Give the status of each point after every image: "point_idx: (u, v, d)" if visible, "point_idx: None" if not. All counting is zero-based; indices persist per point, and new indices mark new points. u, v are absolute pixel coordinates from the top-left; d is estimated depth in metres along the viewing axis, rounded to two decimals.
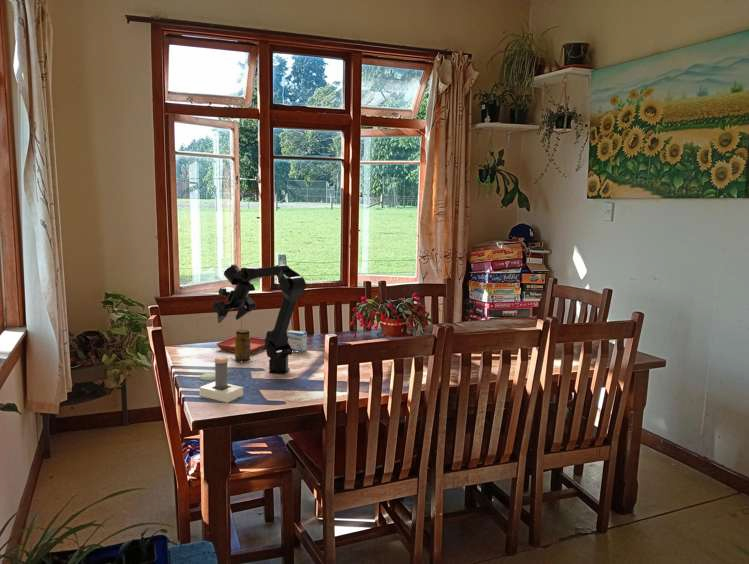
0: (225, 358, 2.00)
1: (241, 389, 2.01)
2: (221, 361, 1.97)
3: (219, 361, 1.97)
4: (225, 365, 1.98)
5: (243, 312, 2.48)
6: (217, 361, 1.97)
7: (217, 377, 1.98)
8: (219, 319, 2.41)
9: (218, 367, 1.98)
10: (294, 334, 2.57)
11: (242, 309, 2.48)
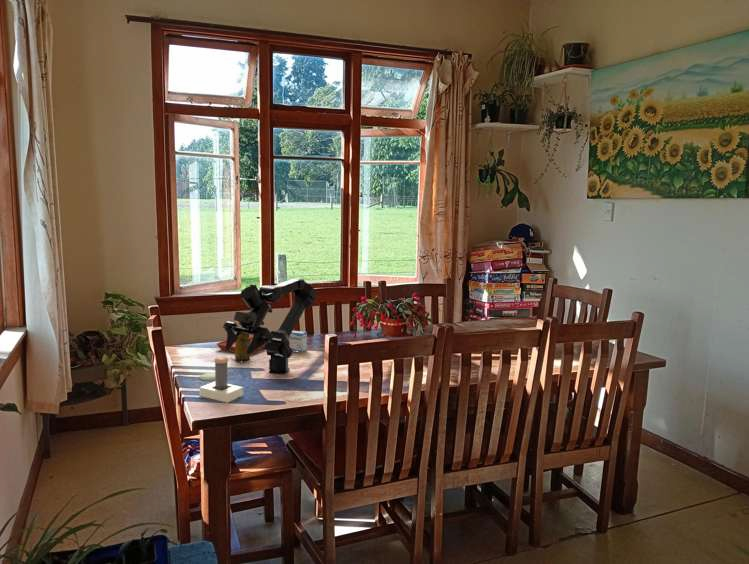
0: (225, 358, 2.00)
1: (241, 389, 2.01)
2: (221, 361, 1.97)
3: (219, 361, 1.97)
4: (225, 365, 1.98)
5: (234, 339, 2.12)
6: (217, 361, 1.97)
7: (217, 377, 1.98)
8: (252, 349, 2.05)
9: (218, 367, 1.98)
10: (294, 334, 2.57)
11: (233, 336, 2.12)
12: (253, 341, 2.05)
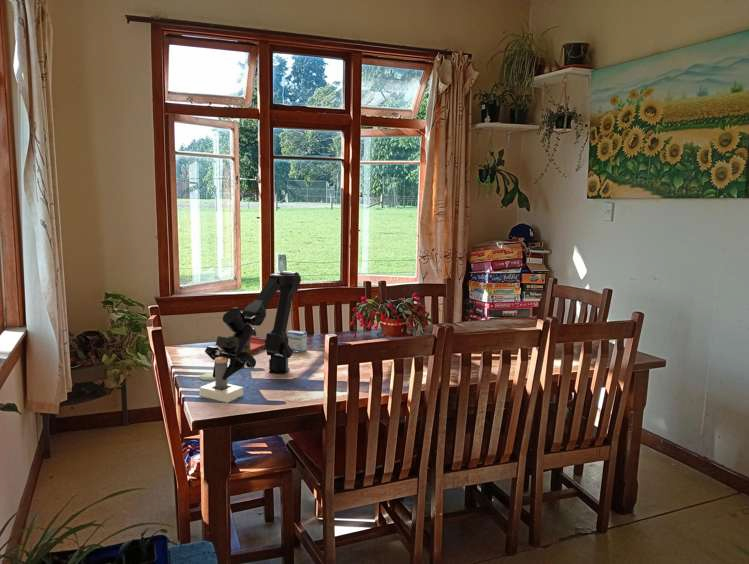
0: (225, 358, 2.00)
1: (241, 389, 2.01)
2: (221, 361, 1.97)
3: (219, 361, 1.97)
4: (225, 365, 1.98)
5: None
6: (217, 361, 1.97)
7: (217, 377, 1.98)
8: (229, 374, 1.99)
9: (218, 367, 1.98)
10: (294, 334, 2.57)
11: None
12: (230, 366, 1.99)
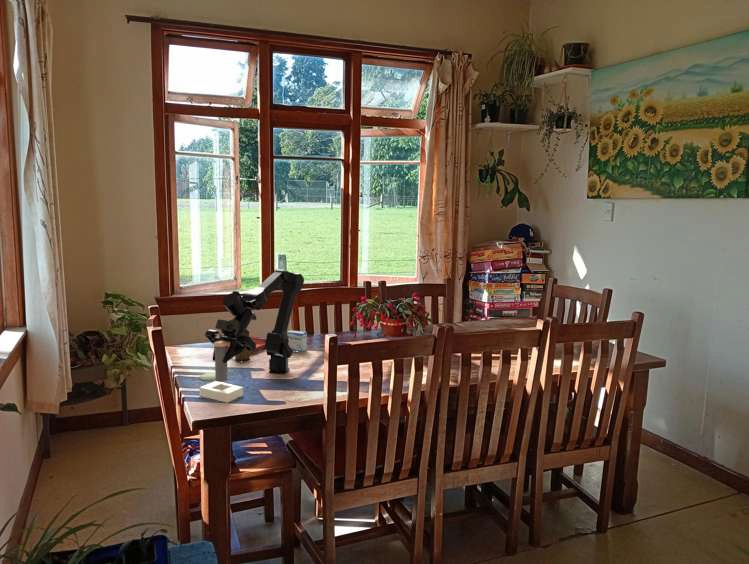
0: (224, 342, 1.99)
1: (241, 389, 2.01)
2: (220, 345, 1.96)
3: (219, 344, 1.96)
4: (225, 349, 1.98)
5: None
6: (217, 345, 1.96)
7: (217, 361, 1.97)
8: (229, 357, 1.98)
9: (218, 351, 1.97)
10: (294, 334, 2.57)
11: None
12: (230, 349, 1.98)
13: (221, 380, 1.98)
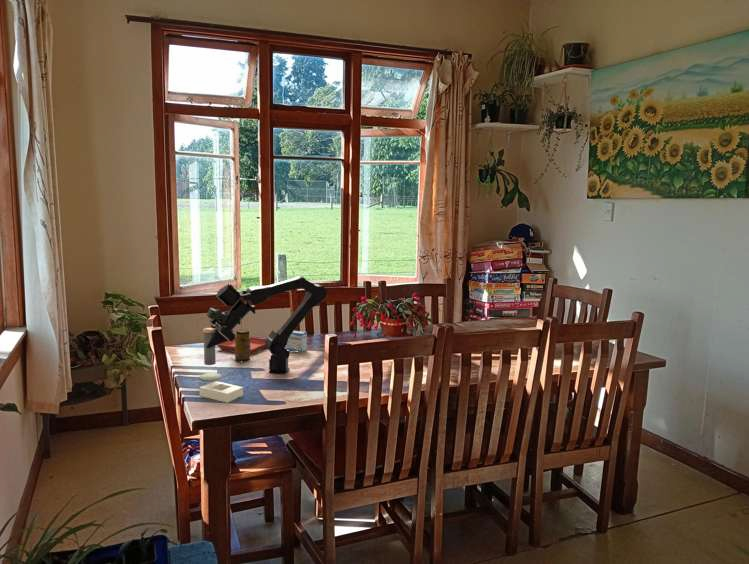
0: (212, 329, 2.15)
1: (241, 389, 2.01)
2: (205, 331, 2.14)
3: (204, 330, 2.14)
4: (210, 335, 2.14)
5: None
6: (203, 330, 2.15)
7: (204, 345, 2.16)
8: (213, 344, 2.14)
9: (204, 336, 2.15)
10: (294, 334, 2.57)
11: None
12: (213, 336, 2.14)
13: (206, 363, 2.16)
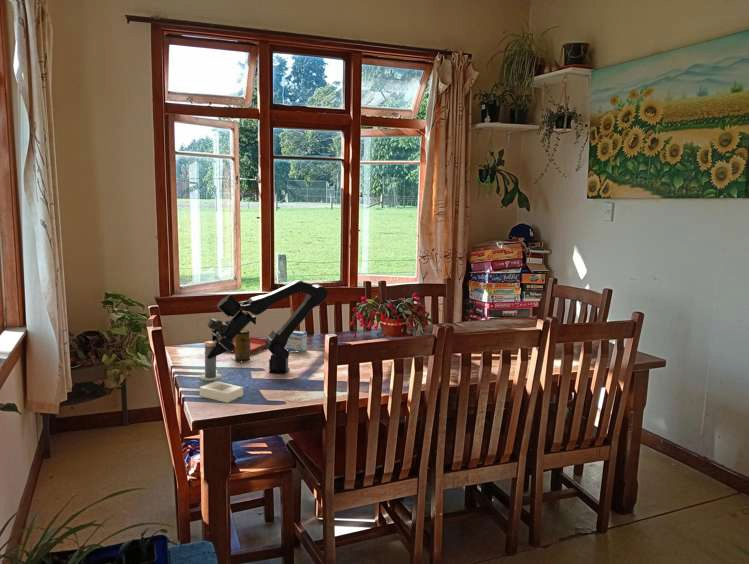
0: (213, 342, 2.17)
1: (241, 389, 2.01)
2: (206, 345, 2.16)
3: (205, 344, 2.16)
4: (211, 349, 2.16)
5: None
6: (204, 344, 2.16)
7: (205, 358, 2.18)
8: (213, 354, 2.15)
9: (205, 349, 2.17)
10: (294, 334, 2.57)
11: None
12: (214, 347, 2.15)
13: (206, 376, 2.18)
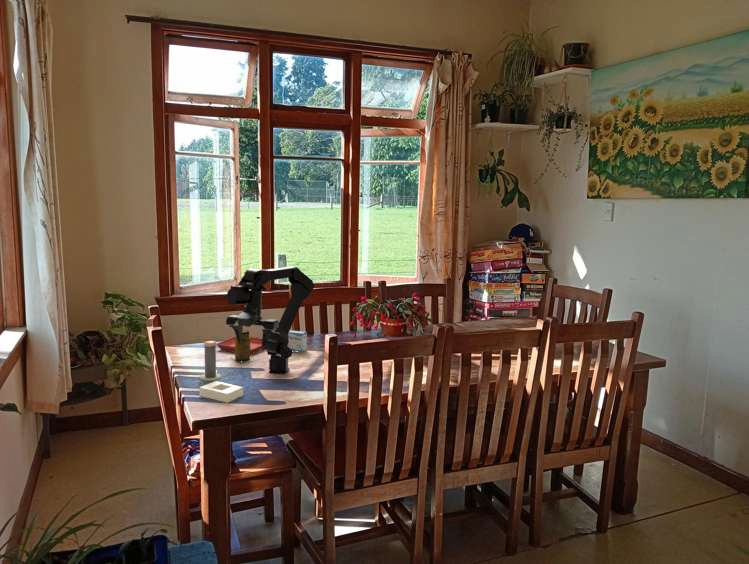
0: (213, 342, 2.17)
1: (241, 389, 2.01)
2: (206, 344, 2.16)
3: (205, 344, 2.16)
4: (210, 348, 2.16)
5: (241, 329, 2.19)
6: (204, 344, 2.17)
7: None
8: (266, 340, 2.16)
9: (205, 349, 2.17)
10: (294, 334, 2.57)
11: (240, 328, 2.18)
12: (264, 335, 2.14)
13: (206, 376, 2.18)
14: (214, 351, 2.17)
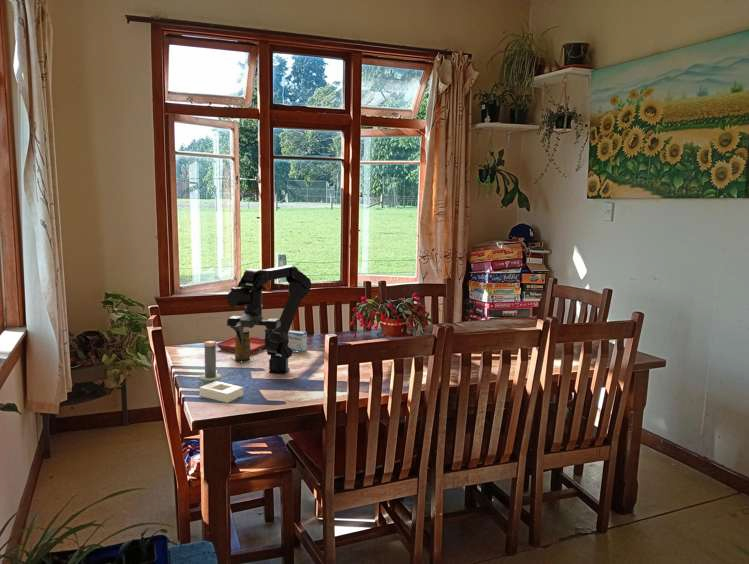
0: (213, 342, 2.17)
1: (241, 389, 2.01)
2: (206, 344, 2.16)
3: (205, 344, 2.16)
4: (210, 348, 2.16)
5: (242, 329, 2.19)
6: (204, 344, 2.17)
7: None
8: (268, 339, 2.17)
9: (205, 349, 2.17)
10: (294, 334, 2.57)
11: (241, 328, 2.18)
12: (267, 335, 2.15)
13: (206, 376, 2.18)
14: (214, 351, 2.17)
